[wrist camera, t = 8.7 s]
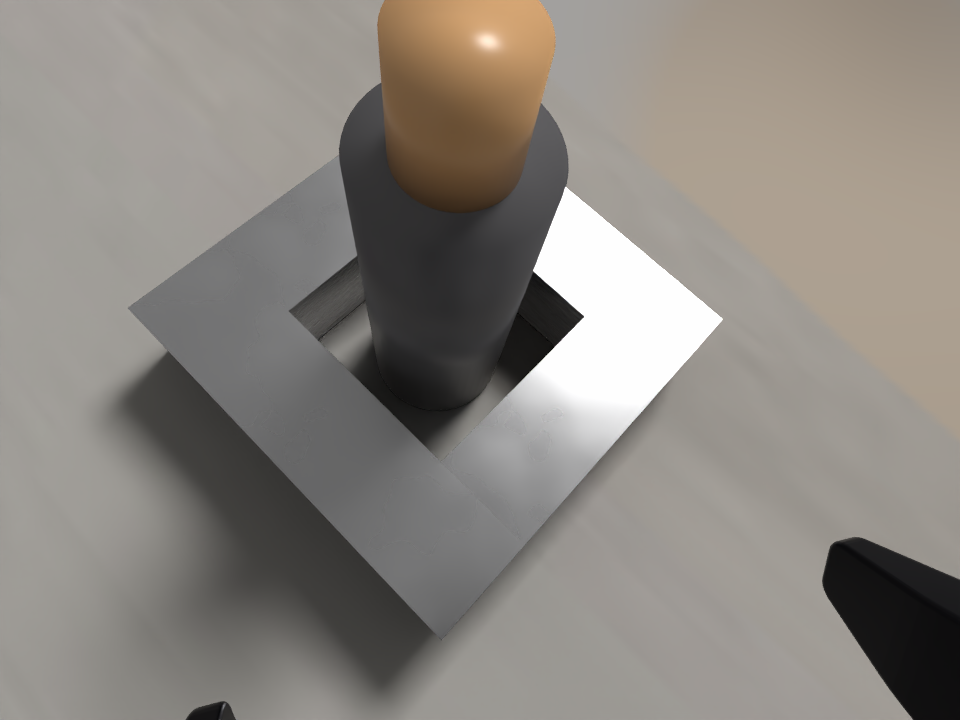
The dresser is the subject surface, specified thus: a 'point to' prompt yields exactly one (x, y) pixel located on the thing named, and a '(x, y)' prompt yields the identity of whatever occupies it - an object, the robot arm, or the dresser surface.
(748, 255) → the dresser surface
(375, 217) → the plug
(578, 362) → the socket plate
